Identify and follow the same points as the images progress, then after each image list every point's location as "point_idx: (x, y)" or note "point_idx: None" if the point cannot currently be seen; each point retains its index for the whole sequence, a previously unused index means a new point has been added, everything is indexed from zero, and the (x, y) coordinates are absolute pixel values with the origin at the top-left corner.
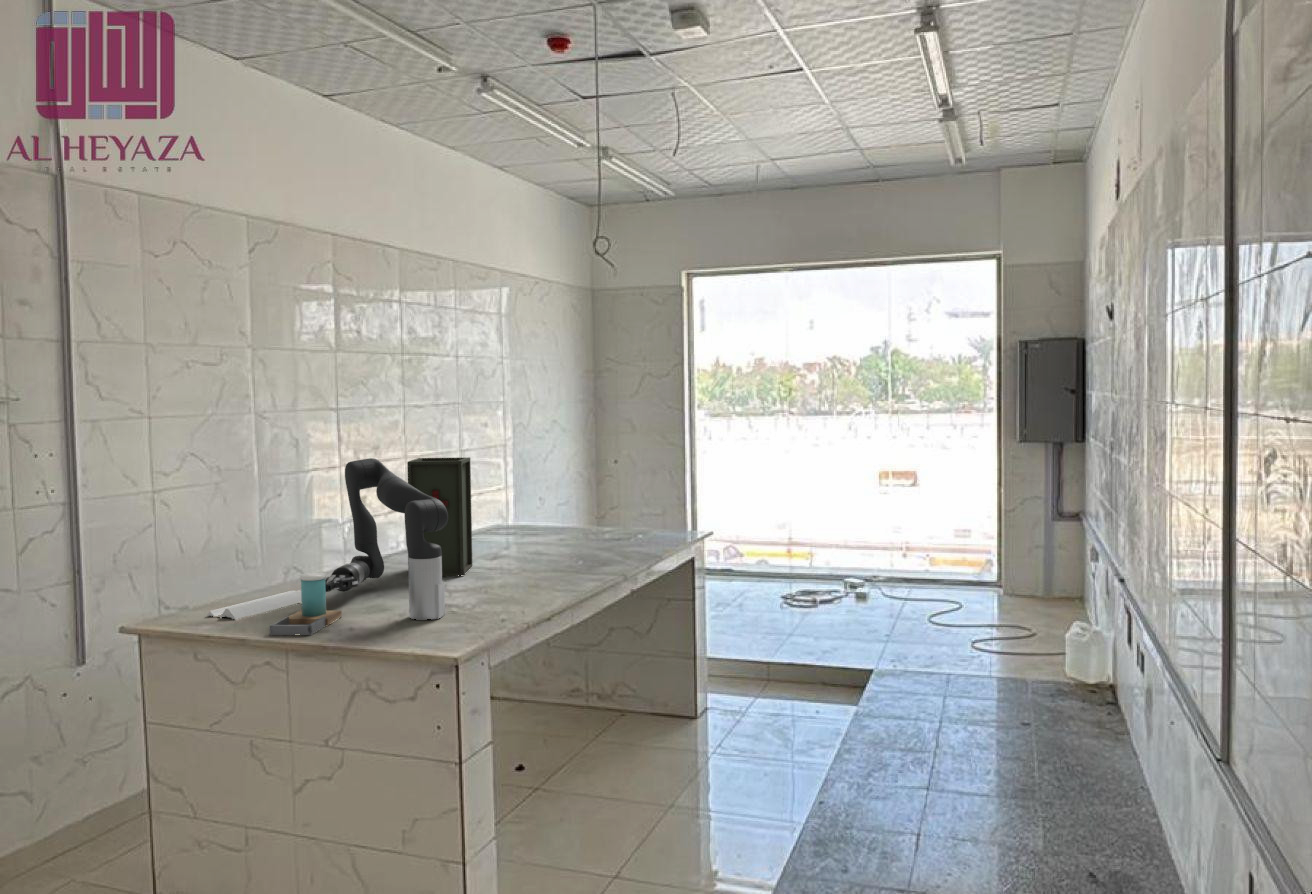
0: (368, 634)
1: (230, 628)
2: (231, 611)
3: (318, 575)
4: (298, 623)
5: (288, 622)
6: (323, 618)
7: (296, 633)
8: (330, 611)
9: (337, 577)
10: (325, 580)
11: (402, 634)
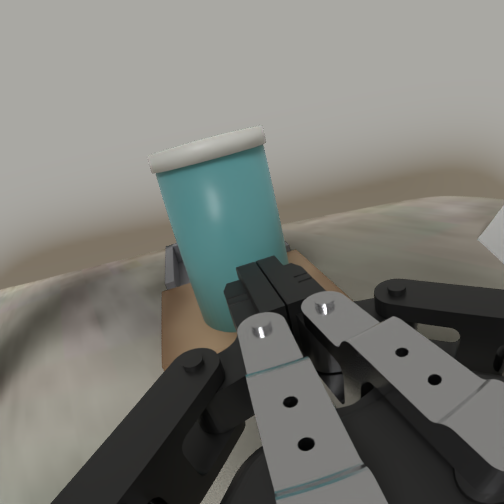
0: (60, 308)
1: (402, 222)
2: (498, 215)
3: (170, 148)
4: None
5: None
6: (165, 277)
7: None
8: (203, 342)
9: (319, 393)
10: (394, 304)
11: (8, 325)
